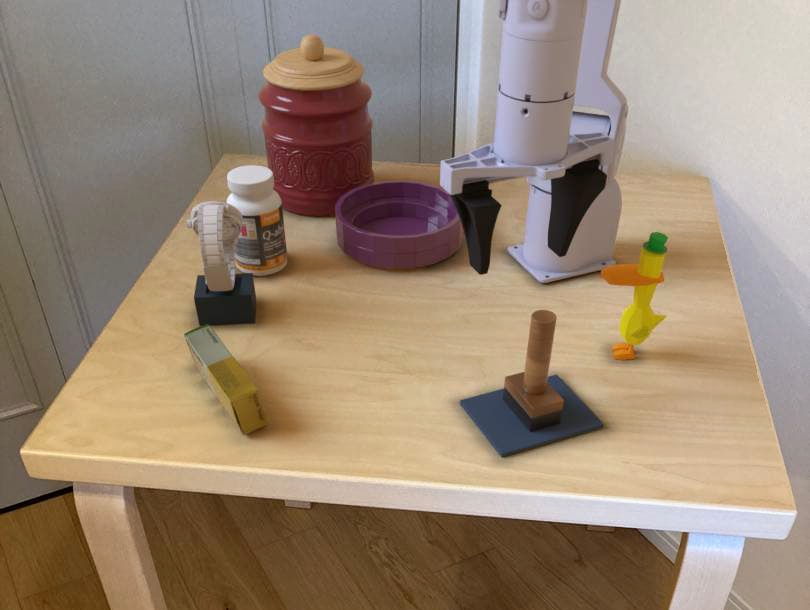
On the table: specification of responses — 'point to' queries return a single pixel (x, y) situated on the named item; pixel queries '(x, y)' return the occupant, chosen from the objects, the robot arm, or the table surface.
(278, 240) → the pill bottle
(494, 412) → the mat
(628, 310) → the toy figure
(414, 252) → the bowl
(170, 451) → the table surface
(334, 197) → the kitchen canister
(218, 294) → the watch
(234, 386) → the medication box
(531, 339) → the wooden peg on base
